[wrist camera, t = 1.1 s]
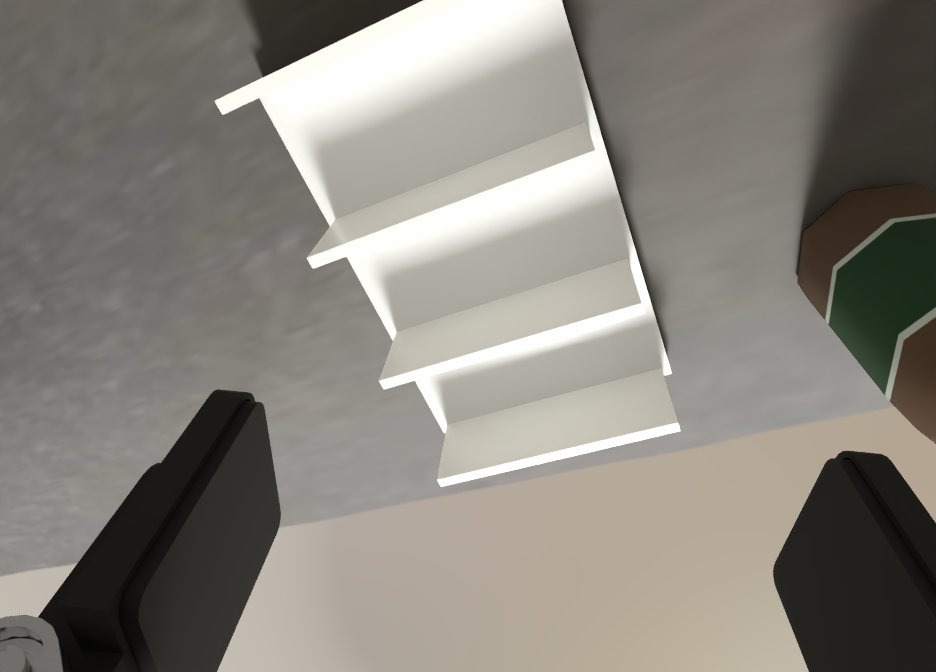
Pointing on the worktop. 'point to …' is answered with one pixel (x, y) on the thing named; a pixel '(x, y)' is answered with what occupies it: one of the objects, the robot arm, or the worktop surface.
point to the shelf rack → (480, 227)
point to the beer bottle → (881, 289)
